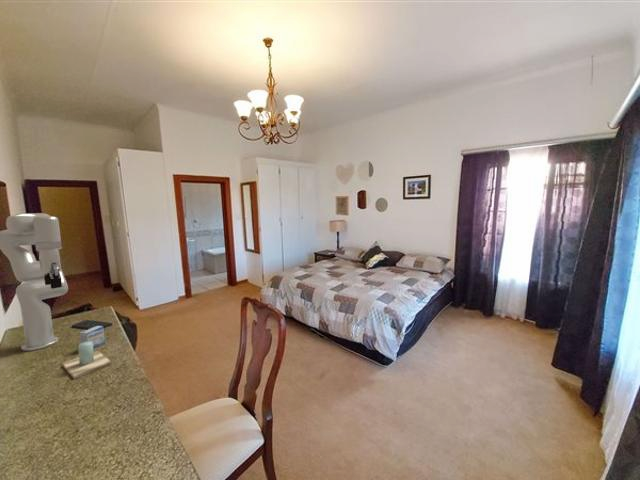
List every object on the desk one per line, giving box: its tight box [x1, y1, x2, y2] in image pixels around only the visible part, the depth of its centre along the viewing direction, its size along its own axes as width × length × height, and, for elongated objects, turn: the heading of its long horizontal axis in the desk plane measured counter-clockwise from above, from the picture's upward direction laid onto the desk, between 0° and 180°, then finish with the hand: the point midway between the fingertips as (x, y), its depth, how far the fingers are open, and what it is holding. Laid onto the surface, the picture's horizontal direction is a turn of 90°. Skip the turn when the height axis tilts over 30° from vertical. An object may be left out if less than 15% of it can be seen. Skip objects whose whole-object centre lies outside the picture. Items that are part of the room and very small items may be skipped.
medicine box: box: [79, 326, 106, 349], centre depth 128 cm, size 8×4×9 cm, turn 168°
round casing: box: [78, 341, 94, 365], centre depth 112 cm, size 5×5×8 cm
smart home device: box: [71, 319, 113, 330], centre depth 152 cm, size 8×2×20 cm
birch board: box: [62, 350, 112, 380], centre depth 113 cm, size 16×12×1 cm
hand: (53, 286), depth 113 cm, fingers open, 9 cm apart
